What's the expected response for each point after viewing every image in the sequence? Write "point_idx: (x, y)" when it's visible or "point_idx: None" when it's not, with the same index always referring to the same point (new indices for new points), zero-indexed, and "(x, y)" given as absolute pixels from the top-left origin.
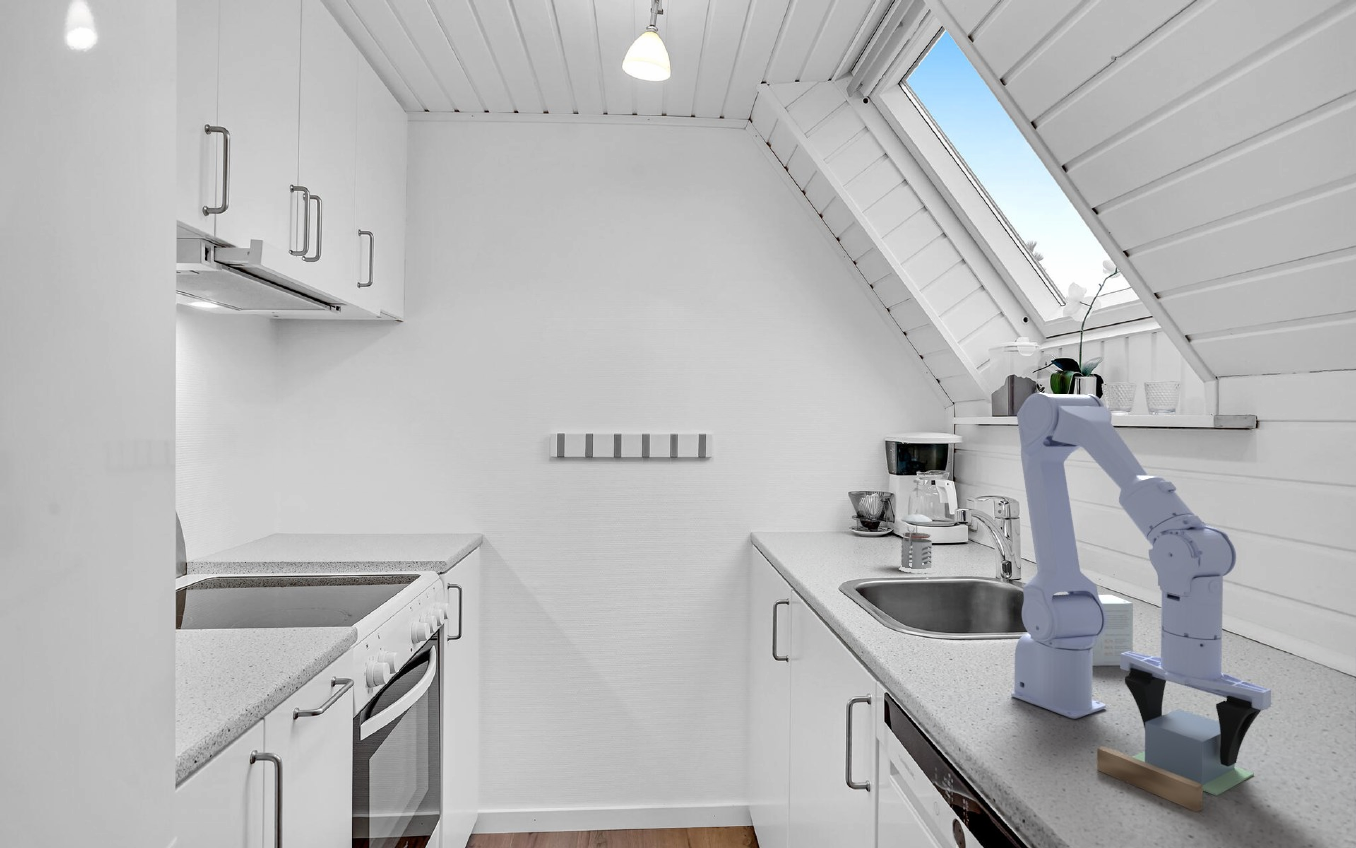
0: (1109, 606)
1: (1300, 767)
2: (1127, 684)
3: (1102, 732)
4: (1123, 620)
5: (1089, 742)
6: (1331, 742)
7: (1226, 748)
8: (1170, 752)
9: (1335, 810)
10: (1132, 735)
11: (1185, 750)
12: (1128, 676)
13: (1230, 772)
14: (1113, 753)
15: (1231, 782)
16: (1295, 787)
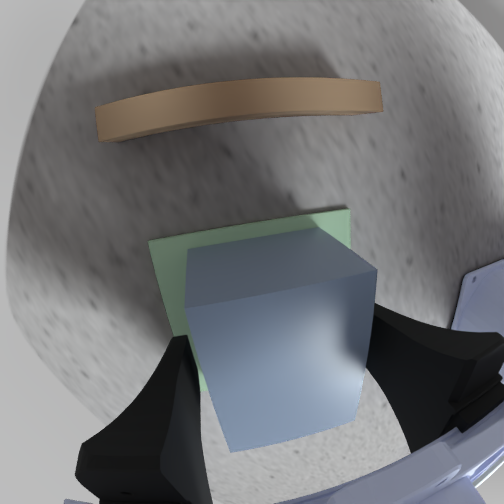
0: (483, 476)
1: None
2: (491, 334)
3: (425, 283)
4: None
5: (423, 215)
6: (229, 499)
7: (164, 363)
8: (275, 257)
9: (71, 383)
10: None
11: (236, 274)
12: (502, 363)
13: None
14: (343, 85)
15: (176, 326)
16: None
